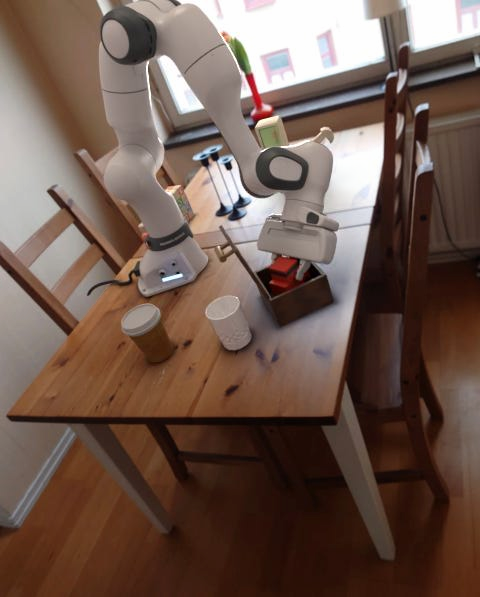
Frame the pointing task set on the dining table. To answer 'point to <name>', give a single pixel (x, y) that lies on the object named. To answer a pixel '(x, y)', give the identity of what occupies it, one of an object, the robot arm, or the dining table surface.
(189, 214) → the printed cardboard box
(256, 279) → the chest lid
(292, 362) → the dining table surface
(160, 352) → the disposable coffee cup
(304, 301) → the toy chest
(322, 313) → the dining table surface
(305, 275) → the red stepped block
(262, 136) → the toy refrigerator
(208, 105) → the robot arm
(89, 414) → the dining table surface
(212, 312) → the white cup
